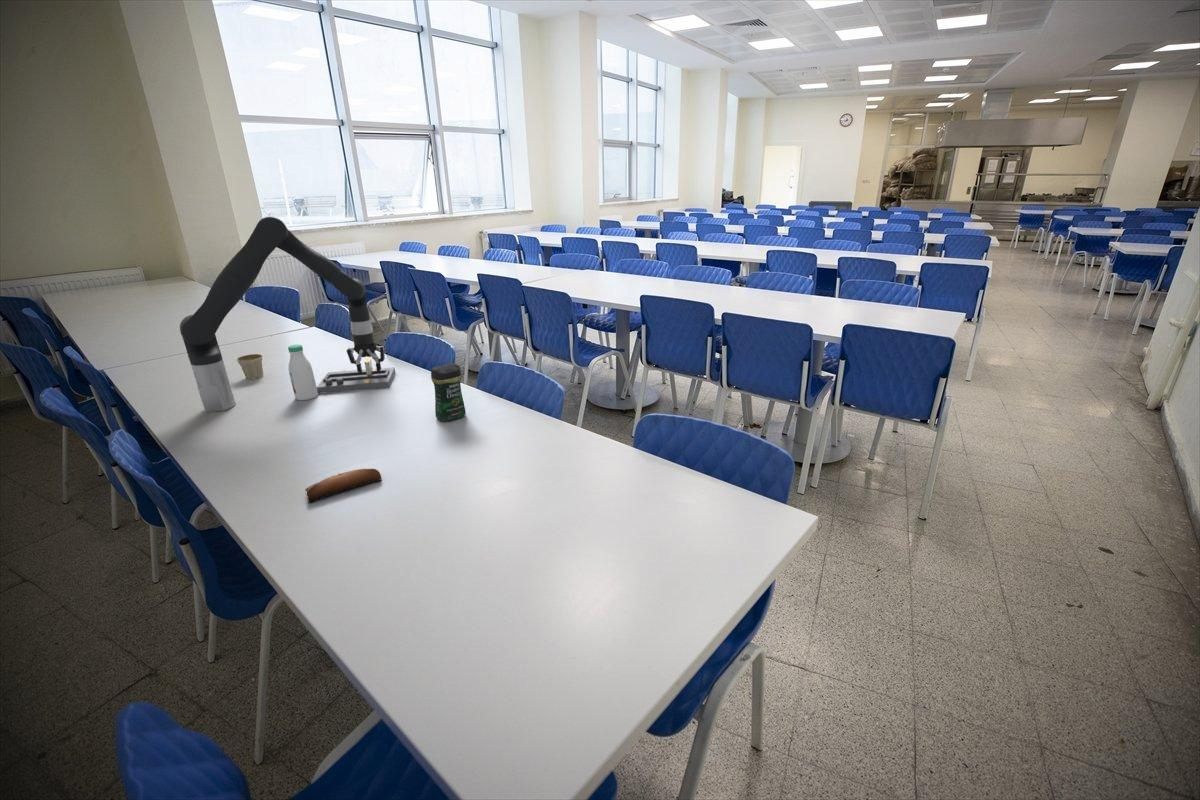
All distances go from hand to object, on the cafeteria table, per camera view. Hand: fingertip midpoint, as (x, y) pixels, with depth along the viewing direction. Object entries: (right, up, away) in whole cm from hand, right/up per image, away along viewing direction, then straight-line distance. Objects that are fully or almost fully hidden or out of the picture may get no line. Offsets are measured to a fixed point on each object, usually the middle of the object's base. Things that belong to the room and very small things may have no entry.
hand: (369, 372), depth 214 cm
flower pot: (-52, -2, +8) cm, 52 cm away
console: (-5, -4, +1) cm, 6 cm away
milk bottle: (-18, -10, -13) cm, 25 cm away
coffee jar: (+42, -17, -32) cm, 55 cm away
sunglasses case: (+24, -35, -73) cm, 84 cm away
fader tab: (0, -1, 0) cm, 1 cm away
